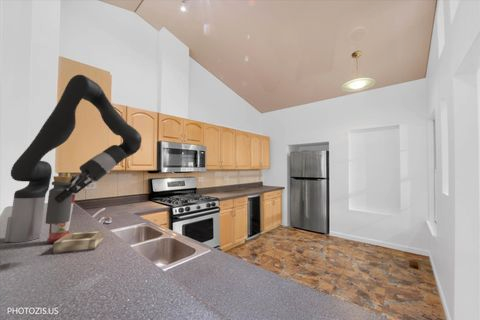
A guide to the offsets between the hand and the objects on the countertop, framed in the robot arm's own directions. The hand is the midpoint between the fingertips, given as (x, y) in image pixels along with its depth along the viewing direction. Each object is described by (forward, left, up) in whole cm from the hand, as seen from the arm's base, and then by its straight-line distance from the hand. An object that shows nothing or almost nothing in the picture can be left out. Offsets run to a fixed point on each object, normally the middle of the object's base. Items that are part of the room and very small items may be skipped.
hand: (53, 200), depth 63 cm
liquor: (-5, +22, -19) cm, 29 cm away
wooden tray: (+5, +13, -19) cm, 23 cm away
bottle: (+1, +1, -7) cm, 8 cm away
